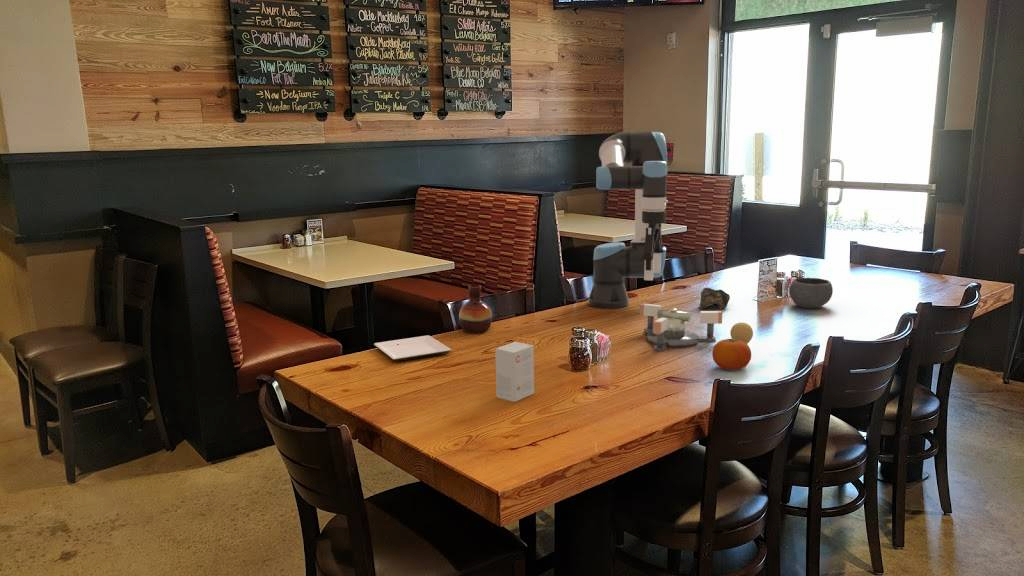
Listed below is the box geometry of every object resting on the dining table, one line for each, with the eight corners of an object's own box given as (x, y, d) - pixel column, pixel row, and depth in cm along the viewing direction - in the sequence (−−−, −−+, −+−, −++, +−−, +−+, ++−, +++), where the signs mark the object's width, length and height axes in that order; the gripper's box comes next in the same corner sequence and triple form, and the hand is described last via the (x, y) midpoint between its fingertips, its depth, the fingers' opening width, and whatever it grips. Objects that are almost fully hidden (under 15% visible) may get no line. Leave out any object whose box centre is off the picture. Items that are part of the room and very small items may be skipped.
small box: (515, 389, 204) (515, 341, 201) (534, 394, 200) (534, 345, 197) (495, 397, 198) (494, 348, 195) (514, 402, 194) (513, 352, 191)
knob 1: (660, 328, 256) (661, 304, 254) (659, 330, 254) (659, 306, 252) (641, 326, 258) (642, 303, 257) (639, 328, 257) (640, 304, 255)
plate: (393, 365, 226) (393, 358, 226) (373, 349, 242) (373, 343, 242) (452, 355, 235) (452, 349, 234) (429, 341, 251) (429, 334, 250)
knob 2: (660, 342, 240) (661, 317, 238) (666, 343, 239) (667, 318, 237) (652, 347, 234) (653, 321, 233) (659, 348, 233) (659, 322, 232)
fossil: (726, 302, 294) (730, 282, 287) (729, 319, 287) (733, 298, 280) (697, 301, 295) (700, 281, 289) (699, 317, 288) (702, 297, 282)
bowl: (787, 310, 284) (789, 283, 281) (789, 301, 297) (791, 275, 295) (831, 313, 278) (833, 285, 276) (831, 304, 292) (833, 278, 289)
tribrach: (621, 345, 242) (621, 313, 240) (647, 329, 259) (647, 300, 257) (696, 356, 229) (697, 322, 227) (718, 339, 247) (719, 308, 245)
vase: (497, 328, 264) (496, 283, 261) (483, 336, 255) (481, 290, 251) (468, 325, 269) (467, 281, 266) (453, 333, 259) (451, 287, 256)
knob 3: (700, 337, 245) (701, 312, 243) (699, 335, 247) (700, 310, 245) (721, 337, 245) (722, 312, 243) (719, 335, 247) (720, 310, 245)
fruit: (744, 376, 211) (745, 348, 209) (706, 370, 216) (707, 342, 215) (754, 365, 220) (756, 338, 218) (718, 360, 225) (719, 333, 224)
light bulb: (752, 353, 231) (754, 320, 229) (751, 359, 226) (753, 326, 223) (730, 351, 233) (731, 319, 231) (728, 357, 228) (730, 324, 226)
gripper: (659, 214, 233) (657, 284, 238) (672, 206, 256) (670, 270, 260) (634, 214, 236) (633, 282, 240) (649, 206, 259) (648, 269, 263)
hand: (652, 276), depth 250 cm, fingers open, 13 cm apart
